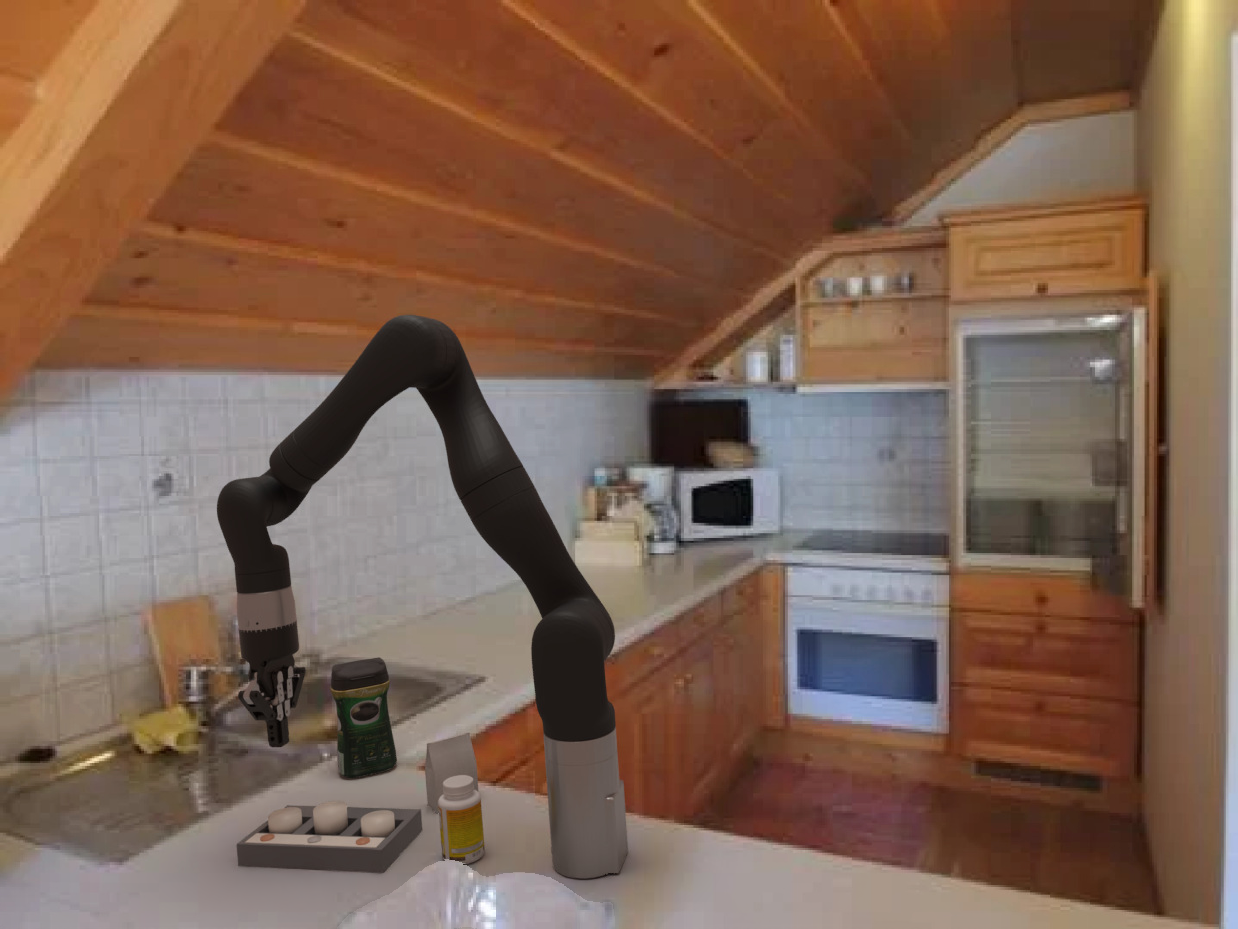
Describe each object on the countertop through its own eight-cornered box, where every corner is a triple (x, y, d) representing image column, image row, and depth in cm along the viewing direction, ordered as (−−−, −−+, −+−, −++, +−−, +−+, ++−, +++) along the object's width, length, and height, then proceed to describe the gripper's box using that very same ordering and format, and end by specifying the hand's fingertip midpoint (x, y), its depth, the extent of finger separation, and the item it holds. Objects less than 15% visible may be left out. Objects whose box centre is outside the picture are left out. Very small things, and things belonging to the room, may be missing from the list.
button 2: (401, 832, 124) (399, 810, 124) (386, 847, 120) (384, 825, 120) (371, 830, 125) (370, 809, 125) (356, 845, 121) (354, 824, 121)
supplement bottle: (493, 854, 119) (488, 778, 119) (459, 871, 115) (453, 793, 115) (467, 843, 123) (462, 769, 123) (433, 859, 119) (427, 783, 118)
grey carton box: (479, 800, 137) (474, 736, 136) (437, 814, 133) (432, 747, 133) (468, 793, 140) (464, 730, 139) (427, 806, 136) (422, 741, 136)
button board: (422, 830, 128) (420, 807, 128) (383, 872, 116) (381, 847, 116) (289, 825, 132) (287, 803, 132) (238, 866, 121) (236, 842, 120)
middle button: (354, 822, 126) (352, 801, 126) (338, 837, 121) (336, 815, 121) (325, 821, 127) (323, 800, 127) (308, 836, 122) (306, 814, 122)
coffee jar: (392, 756, 158) (384, 651, 157) (400, 771, 151) (392, 661, 150) (334, 768, 154) (326, 660, 153) (340, 783, 147) (331, 671, 146)
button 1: (309, 828, 127) (307, 807, 127) (291, 843, 123) (290, 821, 123) (281, 827, 128) (279, 806, 128) (262, 842, 124) (261, 820, 124)
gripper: (263, 632, 117) (276, 764, 118) (317, 610, 130) (329, 728, 131) (212, 634, 118) (225, 763, 119) (271, 611, 131) (282, 729, 132)
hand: (279, 745), depth 125 cm, fingers closed
